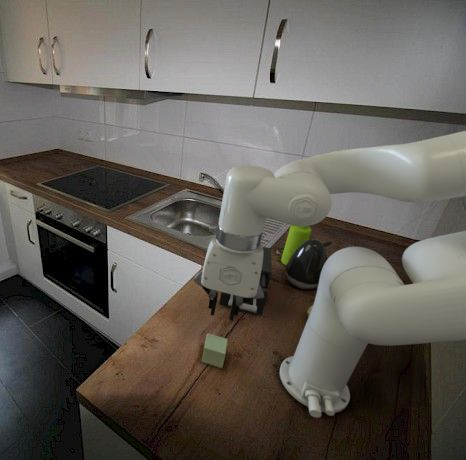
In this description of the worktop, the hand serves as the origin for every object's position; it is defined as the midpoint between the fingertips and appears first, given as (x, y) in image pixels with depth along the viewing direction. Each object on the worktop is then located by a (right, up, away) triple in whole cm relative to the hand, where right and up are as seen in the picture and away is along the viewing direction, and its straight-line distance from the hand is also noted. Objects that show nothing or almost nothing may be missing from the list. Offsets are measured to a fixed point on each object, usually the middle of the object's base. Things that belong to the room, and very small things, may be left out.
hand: (222, 312), depth 65 cm
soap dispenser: (+36, +6, +40) cm, 54 cm away
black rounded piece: (+34, +1, +30) cm, 45 cm away
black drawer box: (+16, +1, +31) cm, 35 cm away
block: (0, -12, +6) cm, 13 cm away
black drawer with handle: (+12, -3, +22) cm, 25 cm away
